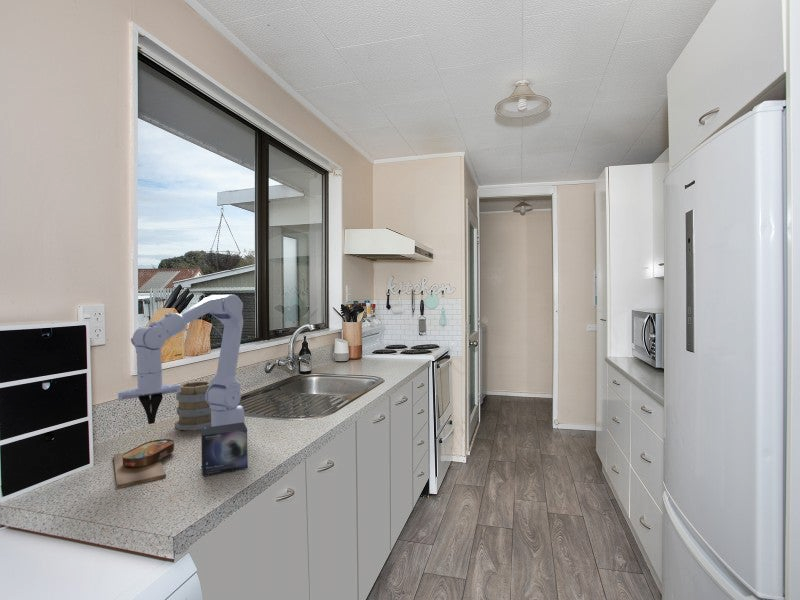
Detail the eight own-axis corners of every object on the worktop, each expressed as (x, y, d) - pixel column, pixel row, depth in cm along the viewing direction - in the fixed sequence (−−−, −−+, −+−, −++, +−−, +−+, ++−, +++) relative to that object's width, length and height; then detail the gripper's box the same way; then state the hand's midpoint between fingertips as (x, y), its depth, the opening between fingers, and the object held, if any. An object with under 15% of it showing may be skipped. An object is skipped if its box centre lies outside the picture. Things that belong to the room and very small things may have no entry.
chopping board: (155, 449, 128) (154, 446, 128) (165, 477, 108) (165, 474, 108) (113, 457, 122) (113, 454, 122) (117, 488, 103) (117, 484, 103)
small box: (203, 478, 108) (201, 434, 108) (201, 468, 114) (200, 427, 113) (248, 469, 113) (247, 427, 112) (244, 460, 118) (243, 421, 118)
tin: (145, 458, 111) (113, 455, 112) (144, 471, 111) (113, 468, 112) (180, 439, 126) (153, 436, 127) (180, 450, 126) (152, 447, 127)
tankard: (182, 433, 143) (181, 386, 142) (171, 425, 152) (170, 381, 152) (243, 420, 156) (242, 377, 156) (230, 413, 165) (229, 373, 165)
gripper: (177, 366, 126) (179, 414, 126) (116, 373, 118) (118, 424, 118) (181, 370, 120) (183, 420, 120) (118, 377, 112) (119, 431, 112)
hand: (151, 422), depth 119 cm, fingers closed
